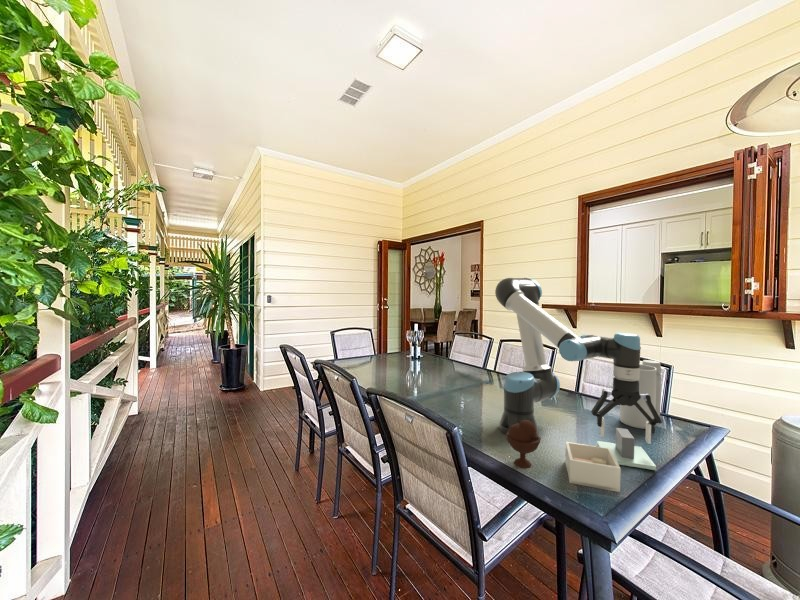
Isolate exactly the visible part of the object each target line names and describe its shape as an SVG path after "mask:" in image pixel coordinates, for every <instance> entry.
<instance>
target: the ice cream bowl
mask: <svg viewBox="0 0 800 600" xmlns="http://www.w3.org/2000/svg"><path fill="white" fill-rule="evenodd" d="M505 438H506V440H507V443H508V444H509V445H510V447H511V448H512V449H513V450H514V451H516V452H517V453H519V458H516V459H515V460H513V463H514V465H515V466H517V467H519V468H522V469H529V468H531V467H532V463H531V462H530V460H528V459H527V458H526V457H527V455H526V454H531V453H533V452H534V451H536V450H537V448H538V447H539V445H540V443H541V441H542V438H541V437H540V436H539V434H538V435H537V433H536V427H535V425H534V424H533V423H532V422H531V421H529V420H522V421H521V422H520V423H516V424H514V425H512V426H511V427H510V429H509V431H508V432H507V433H506V434H505Z"/></svg>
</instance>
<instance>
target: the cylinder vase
mask: <svg viewBox="0 0 800 600" xmlns="http://www.w3.org/2000/svg"><path fill="white" fill-rule="evenodd" d="M638 381H639V394H645V393H647V394H648V395H650V397H651V403H652V404H653V406H654V408H655V409H656V368H655V367H652V366H648V365H642V364H641V363H640V374H639V379H638ZM637 403H638V404H639V405H640V406H641V407H642V408H643V409H644V411H645V412H646V413H647V414H648V415H649V416H650V417H651V418H652V419H654V417H653V415H652V413H651V411H650V409H649V408H648V406H647V404H646V402H645V401H644V400H643V399H642V398H640V399H639V400H638V401H637ZM619 420H620V422H621V423H623V424H624V425H625V426H628V427H632V428H636V429H639V430H641V429H642V430H646V422H649V421H648V419H647V418H646V417H645V416H644V415H643V414H642V413H641V412H640V411H639V409H638V408H637V407H636V406H635V405H633V406H627V405H624V406H623V405H620V404H619Z"/></svg>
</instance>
